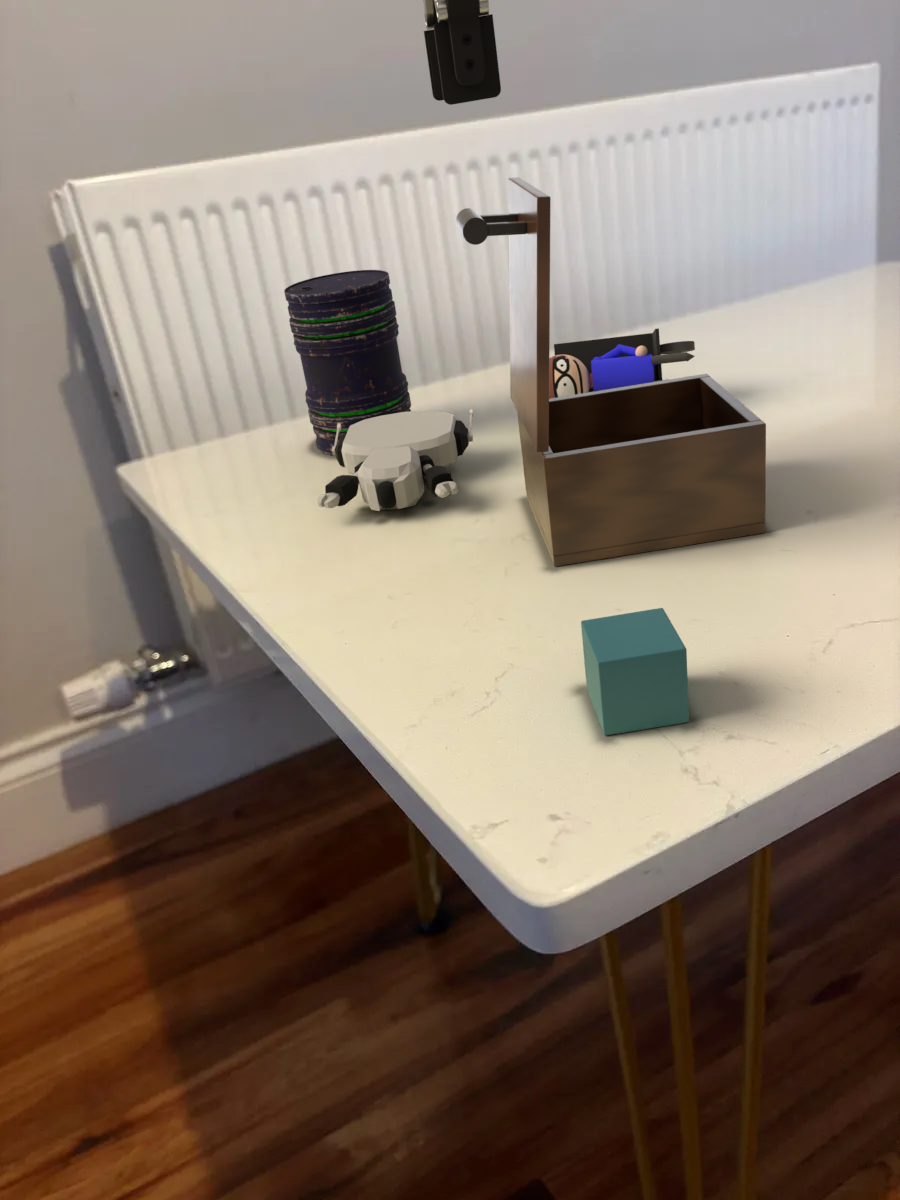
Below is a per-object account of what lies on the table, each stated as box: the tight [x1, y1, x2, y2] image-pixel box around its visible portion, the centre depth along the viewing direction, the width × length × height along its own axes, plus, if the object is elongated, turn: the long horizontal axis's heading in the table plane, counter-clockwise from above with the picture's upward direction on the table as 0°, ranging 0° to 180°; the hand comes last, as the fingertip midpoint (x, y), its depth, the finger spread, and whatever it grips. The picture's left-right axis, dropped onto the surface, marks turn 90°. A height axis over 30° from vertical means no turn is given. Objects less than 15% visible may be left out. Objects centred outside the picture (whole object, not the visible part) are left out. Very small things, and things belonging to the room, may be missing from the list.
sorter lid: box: [455, 176, 552, 452], centre depth 68 cm, size 15×13×5 cm
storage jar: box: [283, 269, 412, 456], centre depth 97 cm, size 10×10×15 cm
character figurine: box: [549, 328, 696, 399], centre depth 94 cm, size 8×7×15 cm
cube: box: [580, 607, 690, 737], centre depth 53 cm, size 4×4×4 cm
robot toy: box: [316, 408, 474, 512], centre depth 86 cm, size 12×4×15 cm
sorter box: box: [516, 373, 767, 567], centre depth 74 cm, size 15×13×8 cm
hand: (465, 98), depth 61 cm, fingers open, 9 cm apart
